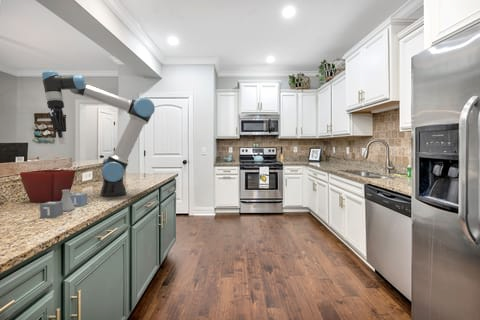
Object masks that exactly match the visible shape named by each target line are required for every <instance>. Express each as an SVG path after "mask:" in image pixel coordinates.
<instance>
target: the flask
mask: <svg viewBox="0 0 480 320" xmlns="http://www.w3.org/2000/svg"><path fill="white" fill-rule="evenodd" d="M69 191H70V192H71V190H62V192H63V195H62V199H61V200H60V202H63V212H70V211H74V210H76V207H74V205H73V203H72V200H71V198H70V195H71V193H69Z"/></svg>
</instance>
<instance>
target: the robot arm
mask: <svg viewBox="0 0 480 320" xmlns="http://www.w3.org/2000/svg"><path fill="white" fill-rule="evenodd" d="M41 77H42V84H43V90H44V93H45V94H44V96H45V99H46V101H47V102H46V105H47V109H49V110H50V112H48V113H47V115H48V117H49V118H50V121H51V124H52V127H53V130H54V132H55V133H57V137H58V141H59V145H63V144H65V145H66V144H67V140H66V134H65V132H67V114H65V113H64V111H63V109H64V108H65V103H64V97H63V91H64V90H66V91H67V90H69V91H70V92H71V93H72V94H74V95H79V96H82V97H85V98H88V99H91V100H94V101H97V102H99V103H102V104H105V105H107V106H111V107H114V108H117V109H119V110H122V111H125V112H126V113H127V114H129V117H130V119H129V120H128V123H127V125H126V126H125V128H124V131H123V133H122V134H121V136H120V139H119V141H118V142H117V145H116V147H115V149H114V151H113V153H112V154H110V155H108V157H107V158H104V159H103V161H102V168H101V176H102V180H103V181H102V182H103V183H102V186H101V189H100V194H99V195H100V197H105V198H106V197H107V198H108V197H109V198H110V197H113V198H114V197H120V196H121V197H122V196H125V195H127V189H126V186H125V184H124V175H125V172H126V170H127V168H128V166H129V161H128V159H129V156H130V154H131V152H132V151H133V149H134V146H135V145H136V142H137V140H138V138H139V137H140V135H141V132H142V129H143V128H144V126H145V125H147V124H149V122H150V120H151V118H152V115H154V114H155V113H154V112H155V103H154V102H153V101H152V100H151V99H150V98H148V97H140V98H138V99H132V98H131V99H128V98H126V97H124V96H120V95H117V94H115V93H112V92H109V91H107V90H103V89H101V88H98V87H95V86H93V85H90V84H88V83H86V82H85V78H84V76H83V75H80V74H73V75H72V74H70V75H59V73H58V72H57V71H53V70H46V71H44V72H42V74H41ZM62 90H63V91H62Z"/></svg>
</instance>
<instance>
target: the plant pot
mask: <svg viewBox="0 0 480 320" xmlns="http://www.w3.org/2000/svg"><path fill="white" fill-rule="evenodd" d="M19 175H20V179H21V182H22V185H23V188H24V191H25V192H26V195H27V197H28V199H29V200H30V202H32V203H46V202H60V201H61V199H62V195H63V192H62V190H70V191H69V194H71V193H70V192H71V190H72V187H73V183H74V182H75V181H74V180H75V176H76V169H41V170H31V171H20V172H19Z"/></svg>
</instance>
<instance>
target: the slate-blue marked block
mask: <svg viewBox="0 0 480 320" xmlns="http://www.w3.org/2000/svg"><path fill="white" fill-rule="evenodd" d="M70 198H71V200H72V203H73V205H74V207H75V208H76V207H79V208H81V207H84V206H86V205H88V193H85V192H84V193H83V192H82V193H81V192H77V193H76V192H75V193H72V194H70Z"/></svg>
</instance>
